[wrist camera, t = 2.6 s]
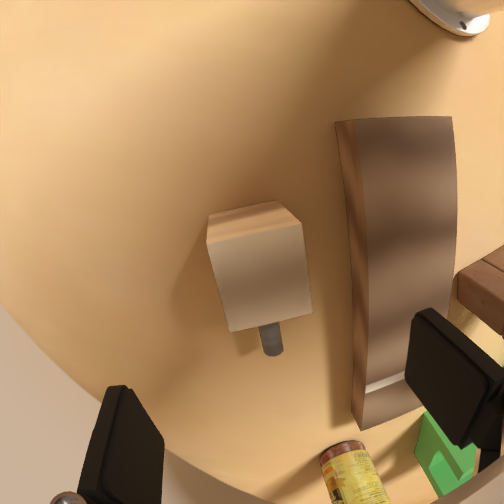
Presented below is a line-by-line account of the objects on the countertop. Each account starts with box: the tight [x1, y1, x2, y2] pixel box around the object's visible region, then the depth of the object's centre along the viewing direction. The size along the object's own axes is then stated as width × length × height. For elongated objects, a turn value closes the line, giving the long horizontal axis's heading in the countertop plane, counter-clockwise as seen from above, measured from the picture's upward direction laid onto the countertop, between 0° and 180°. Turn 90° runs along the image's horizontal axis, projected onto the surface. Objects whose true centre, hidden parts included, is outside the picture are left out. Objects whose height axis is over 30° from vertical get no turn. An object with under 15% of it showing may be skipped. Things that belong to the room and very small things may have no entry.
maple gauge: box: [206, 200, 313, 356], centre depth 19 cm, size 10×4×6 cm, turn 11°
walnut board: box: [335, 116, 457, 431], centre depth 22 cm, size 28×8×3 cm, turn 11°
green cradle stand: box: [414, 411, 477, 498], centre depth 28 cm, size 24×13×12 cm, turn 107°
